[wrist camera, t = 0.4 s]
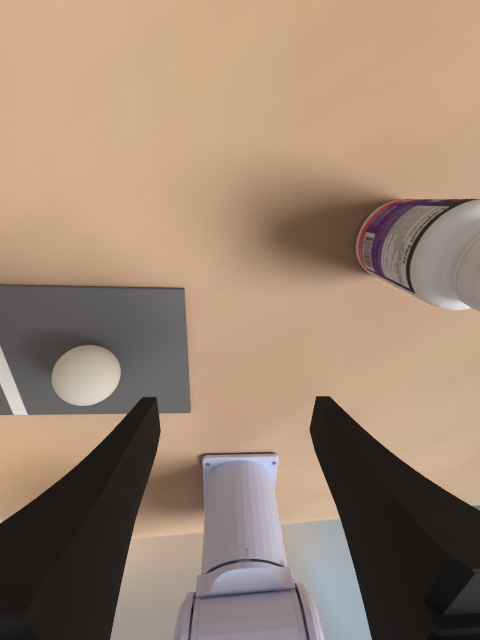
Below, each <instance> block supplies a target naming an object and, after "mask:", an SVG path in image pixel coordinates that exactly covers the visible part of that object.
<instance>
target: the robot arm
mask: <svg viewBox="0 0 480 640" xmlns="http://www.w3.org/2000/svg"><path fill="white" fill-rule="evenodd" d="M160 432H161V430H160V421H159V412H158V403H157V397H142V398H141V399H140V400H139V401H138V402H137V404H136V405H135V406H134V407H133V408H132V410H131V411H130V412H129V413H128V414H127V415H126V416H125V418H124V419H123V420H122V421H121V422H120V423H119V424H118V425H117V426H116V427H115V428H114V430H113V431H112V432H111V433H110V434H109V435H108V436H107V437H106V438H105V439H104V440H103V441H102V442H101V443H100V444H99V445H98V446H97V447H96V448H95V449H94V450H93V451H92V452H91V453H90V454H89V455H88V456H87V457H86V458H84V459H83V460H82V461H81V462H80V463H79V464H78V465H77V466H76V467H74V468H73V469H72V470H71V471H70V472H69V473H67V474H66V475H65V476H64V477H63V478H61V479H60V480H59V481H58V482H56V483H55V484H54V485H53V486H51V487H50V488H49V489H48V490H46V491H45V492H44V493H42V494H41V495H40V496H38V497H37V498H36V499H35V500H33V501H32V502H30V503H29V504H28V505H26V506H25V507H23V508H22V509H21V510H19V511H18V512H16V513H15V514H13V515H12V516H11V517H9V518H8V519H6V520H5V521H3V522H2V523H0V640H110V637H111V631H112V626H113V621H114V616H115V611H116V606H117V601H118V596H119V591H120V586H121V582H122V577H123V573H124V568H125V563H126V558H127V554H128V550H129V545H130V541H131V537H132V532H133V528H134V524H135V520H136V516H137V513H138V509H139V506H140V503H141V500H142V497H143V494H144V491H145V488H146V484H147V481H148V478H149V475H150V472H151V469H152V466H153V462H154V459H155V456H156V452H157V447H158V442H159V437H160ZM310 434H311V438H312V442H313V445H314V449H315V452H316V455H317V458H318V460H319V463H320V466H321V468H322V471H323V473H324V476H325V478H326V481H327V484H328V486H329V489H330V491H331V494H332V496H333V499H334V501H335V504H336V507H337V510H338V513H339V516H340V519H341V522H342V526H343V529H344V532H345V536H346V539H347V543H348V546H349V550H350V554H351V557H352V561H353V564H354V568H355V572H356V575H357V580H358V583H359V588H360V591H361V595H362V599H363V603H364V607H365V611H366V616H367V620H368V624H369V629H370V633H371V637H372V640H480V511H479V510H478V509H476V508H474V507H473V506H471V505H469V504H467V503H466V502H464V501H462V500H460V499H459V498H457V497H455V496H454V495H452V494H451V493H449V492H447V491H446V490H444V489H442V488H441V487H439V486H438V485H436V484H435V483H433V482H432V481H430V480H429V479H427V478H426V477H424V476H423V475H421V474H420V473H418V472H417V471H415V470H414V469H413V468H411V467H410V466H409V465H407V464H406V463H405V462H403V461H402V460H401V459H399V458H398V457H397V456H395V455H394V454H393V453H391V452H390V451H389V450H388V449H386V448H385V447H384V446H383V445H382V444H380V443H379V442H378V441H377V440H376V439H374V438H373V437H372V436H371V435H370V434H369V433H368V432H367V431H365V430H364V429H363V428H362V427H361V426H360V425H359V424H358V423H357V422H356V421H355V420H353V419H352V418H351V417H350V416H349V415H348V414H347V413H346V412H345V411H344V410H343V409H342V408H341V407H340V406H339V405H338V404H337V403H336V402H335V401H334V400H333V399H332V398H330V397H329V396H316V400H315V405H314V410H313V415H312V420H311V425H310ZM202 462H203V494H204V512H205V521H204V537H203V553H202V570H201V575H198V576H197V585H196V592H189V593H188V594H187V596H186V598H185V600H184V601H183V603H182V604H181V606H180V608H179V611H178V615H177V621H176V627H175V633H174V640H324V637H323V632H322V627H321V623H320V619H319V615H318V612H317V608H316V605H315V602H314V599H313V597H312V595H311V593H310V592H309V591H308V590H307V589H306V588H305V586H304V584H302V583H301V582H299V583H294V577H293V572H292V568H291V567H287V561H286V555H285V549H284V544H283V538H282V532H281V526H280V520H279V514H278V509H277V503H276V497H275V491H274V489H275V482H276V475H277V468H278V462H279V457H278V455H277V454H231V455H205V456H204V457H203V461H202Z"/></svg>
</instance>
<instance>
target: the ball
mask: <svg viewBox="0 0 480 640" xmlns="http://www.w3.org/2000/svg"><path fill="white" fill-rule="evenodd" d="M120 375H121V370H120V365H119V362H118V360H117V358H116V357H115V356H114V354H113V353H112V352H110V351H109V350H107V349H105V348H103V347H101V346H96V345H83V346H79V347H76V348H73V349H71V350H69V351H68V352H66V353H65V354H64V355H62V356H61V357H60V359H59V360H58V361H57V363H56V364H55V366H54V369H53V372H52V385H53V388H54V390H55V392H56V394H57V395H58V396H59V397H60V398H61V399H62V400H64V401H66V402H67V403H70V404H73V405H78V406H88V405H92V404H96V403H98V402H101V401H103V400H104V399H106V398H107V397H108V396H110V395H111V394H112V392H113V391H114V390H115V388H116V387H117V385H118V383H119V380H120Z"/></svg>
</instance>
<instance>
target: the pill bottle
mask: <svg viewBox="0 0 480 640" xmlns="http://www.w3.org/2000/svg"><path fill="white" fill-rule="evenodd" d="M356 255H357V258H358V261H359V263H360V264H361V266H362V267H363V268H364V269H365V270H366V271H367V272H368V273H370V274H372V275H374V276H375V277H377V278H379V279H381V280H383V281H385V282H387V283H389V284H391V285H393V286H395V287H397V288H399V289H401V290H403V291H405V292H407V293H409V294H411V295H413V296H415V297H417V298H418V299H420V300H422V301H424V302H426V303H429V304H431V305H433V306H436V307H438V308H442V309H447V310H463V309H469V308H472V309H475V310H478V311H480V199H440V200H432V199H405V200H396V201H392V202H389V203H386V204H384V205H382V206H380V207H379V208H377V209H376V210H375V211H374V212H372V213H371V214H370V215H369V217H368V218H367V219H366V220H365V222H364V223H363V225H362V226H361V228H360V231H359V233H358V236H357V240H356Z"/></svg>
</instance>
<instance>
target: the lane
mask: <svg viewBox="0 0 480 640" xmlns="http://www.w3.org/2000/svg"><path fill="white" fill-rule="evenodd" d="M83 345H96V346H101V347H103V348H105V349H107V350H109V351H110V352H112V353H113V354H114V356H115V357H116V358H117V360H118V362H119V365H120V370H121V375H120V380H119V383H118V385H117V387H116V388H115V390H114V391H113V392H112V394H111V395H110V396H108V397H107V398H106V399H104V400H103V401H101V402H98V403H96V404H92V405H88V406H78V405H73V404H70V403H67V402H66V401H64V400H62V399H61V398H60V397H59V396H58V395H57V394H56V392H55V390H54V388H53V385H52V372H53V369H54V366H55V364H56V363H57V361H58V360H59V359H60V357H61V356H62V355H64V354H65V353H66V352H68V351H69V350H71V349H73V348H76V347H79V346H83ZM142 397H157V403H158V412H159V413H190V411H191V405H190V387H189V368H188V349H187V330H186V311H185V292H184V288H151V287H100V286H50V285H0V415H47V414H128V413H129V412H130V411H131V410H132V408H133V407H134V406H135V405H136V404H137V402H138V401H139V400H140V399H141V398H142Z"/></svg>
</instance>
